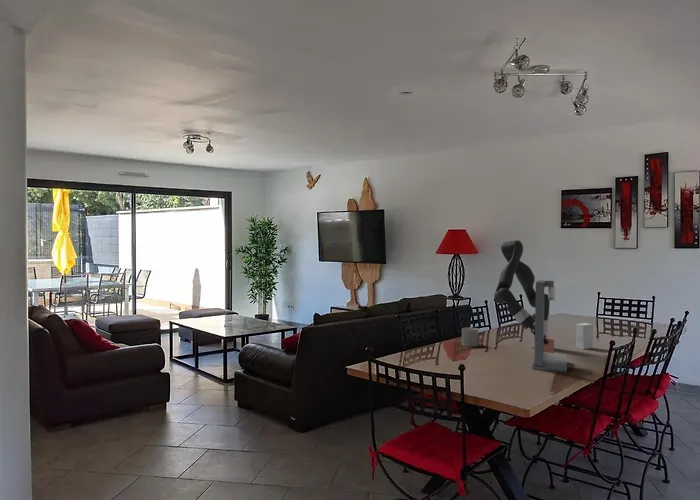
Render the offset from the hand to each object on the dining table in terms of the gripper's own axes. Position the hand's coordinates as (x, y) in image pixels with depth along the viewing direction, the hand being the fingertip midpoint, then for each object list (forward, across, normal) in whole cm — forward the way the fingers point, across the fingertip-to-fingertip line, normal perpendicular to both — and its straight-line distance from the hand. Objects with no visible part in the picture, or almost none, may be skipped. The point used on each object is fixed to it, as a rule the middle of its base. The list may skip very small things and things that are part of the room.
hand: (547, 342), depth 276 cm
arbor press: (+9, -4, +7) cm, 12 cm away
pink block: (+4, 0, +3) cm, 5 cm away
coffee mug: (-25, +34, +41) cm, 59 cm away
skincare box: (+21, +52, -5) cm, 56 cm away
